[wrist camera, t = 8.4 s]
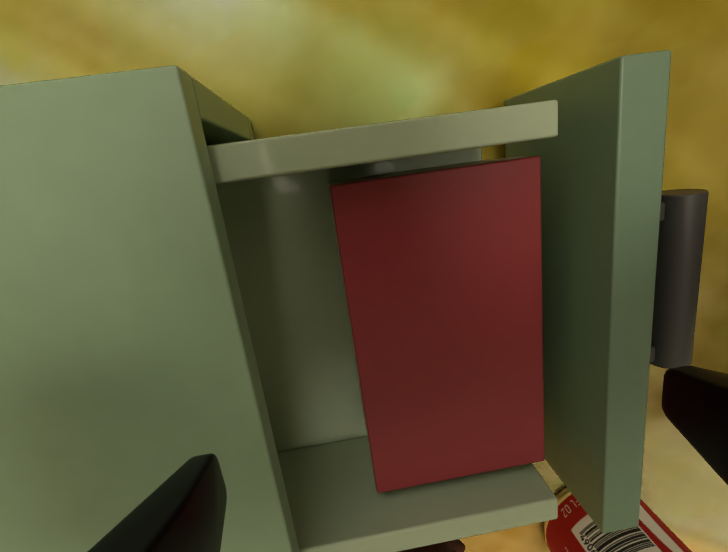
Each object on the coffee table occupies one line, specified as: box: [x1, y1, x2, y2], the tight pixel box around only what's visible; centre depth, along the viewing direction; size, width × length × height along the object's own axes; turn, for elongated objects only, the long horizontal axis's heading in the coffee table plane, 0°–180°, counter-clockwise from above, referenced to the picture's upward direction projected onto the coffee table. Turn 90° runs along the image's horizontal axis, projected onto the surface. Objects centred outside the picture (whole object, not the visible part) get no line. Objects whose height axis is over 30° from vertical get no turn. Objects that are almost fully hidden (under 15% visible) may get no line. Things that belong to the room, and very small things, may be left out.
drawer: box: [207, 50, 709, 552], centre depth 13 cm, size 17×13×6 cm
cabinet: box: [0, 65, 300, 552], centre depth 12 cm, size 15×15×8 cm
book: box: [328, 156, 544, 493], centre depth 13 cm, size 10×6×4 cm, turn 8°
